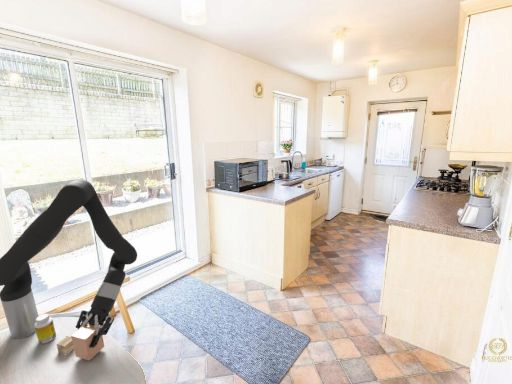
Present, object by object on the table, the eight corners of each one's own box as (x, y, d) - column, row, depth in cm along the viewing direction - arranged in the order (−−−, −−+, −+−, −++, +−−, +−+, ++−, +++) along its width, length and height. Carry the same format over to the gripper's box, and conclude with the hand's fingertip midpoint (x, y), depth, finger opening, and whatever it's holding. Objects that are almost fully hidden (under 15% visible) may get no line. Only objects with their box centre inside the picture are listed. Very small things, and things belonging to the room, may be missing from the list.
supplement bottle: (56, 339, 102) (51, 317, 99) (38, 346, 98) (32, 324, 96) (56, 331, 106) (51, 310, 103) (38, 338, 102) (33, 316, 100)
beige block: (58, 352, 96) (56, 343, 95) (68, 344, 99) (66, 335, 98) (66, 355, 94) (64, 346, 93) (76, 346, 98) (74, 338, 97)
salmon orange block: (75, 356, 92) (71, 335, 90) (91, 342, 98) (87, 322, 96) (89, 360, 90) (84, 339, 88) (104, 346, 96) (100, 326, 94)
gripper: (85, 291, 99) (60, 340, 90) (114, 297, 95) (91, 349, 86) (99, 295, 105) (77, 341, 97) (127, 301, 101) (107, 349, 93)
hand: (84, 345), depth 92 cm, fingers closed on salmon orange block, 6 cm apart
